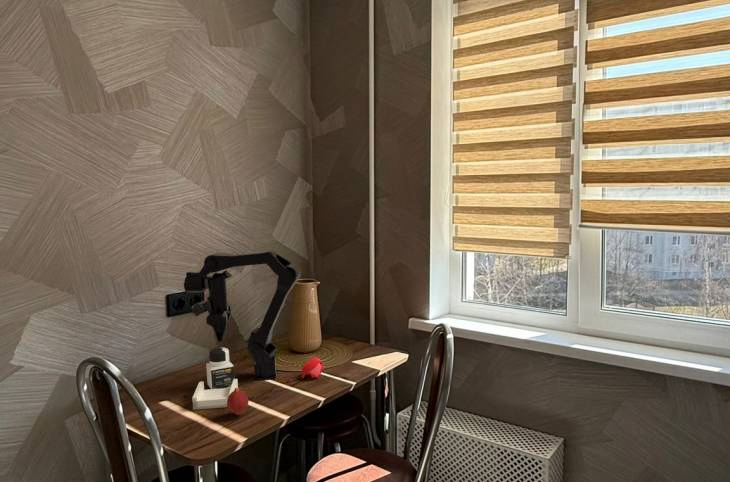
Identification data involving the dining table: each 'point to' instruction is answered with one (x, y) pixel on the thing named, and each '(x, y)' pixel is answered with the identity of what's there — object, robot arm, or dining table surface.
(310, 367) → the cap
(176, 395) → the dining table surface
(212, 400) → the cradle
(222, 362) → the medicine bottle
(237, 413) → the red rounded lump
